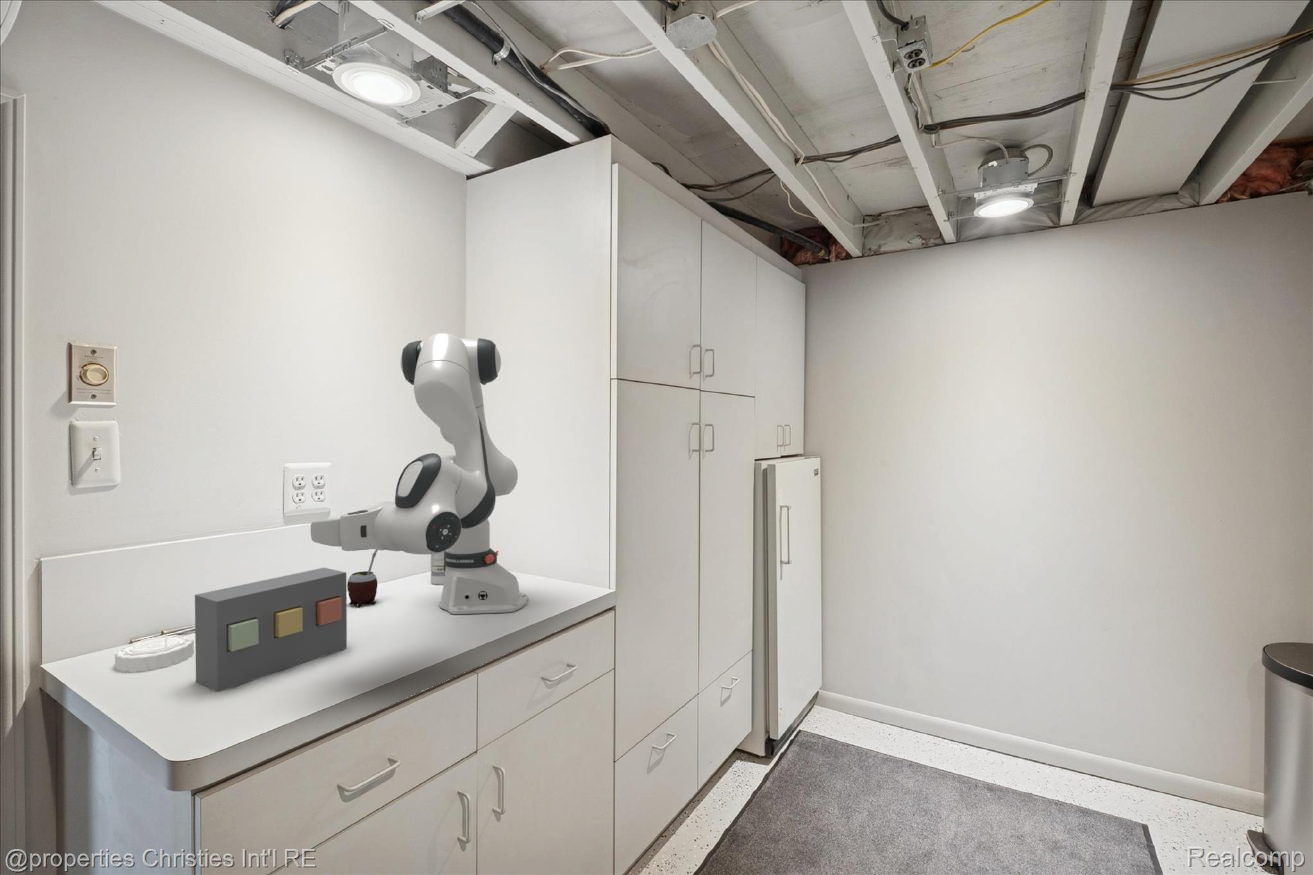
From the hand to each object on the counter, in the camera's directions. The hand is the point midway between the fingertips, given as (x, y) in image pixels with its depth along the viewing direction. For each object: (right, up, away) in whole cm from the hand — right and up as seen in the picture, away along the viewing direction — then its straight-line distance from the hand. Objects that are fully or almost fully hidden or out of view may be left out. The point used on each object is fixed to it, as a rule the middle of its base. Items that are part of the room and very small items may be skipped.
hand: (347, 521), depth 119 cm
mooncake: (-38, -28, 0) cm, 48 cm away
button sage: (-14, -21, -10) cm, 27 cm away
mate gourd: (-15, -27, +38) cm, 49 cm away
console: (-13, -28, -1) cm, 31 cm away
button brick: (-6, -21, +4) cm, 22 cm away
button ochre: (-10, -21, -3) cm, 24 cm away
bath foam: (-2, -27, +59) cm, 65 cm away
